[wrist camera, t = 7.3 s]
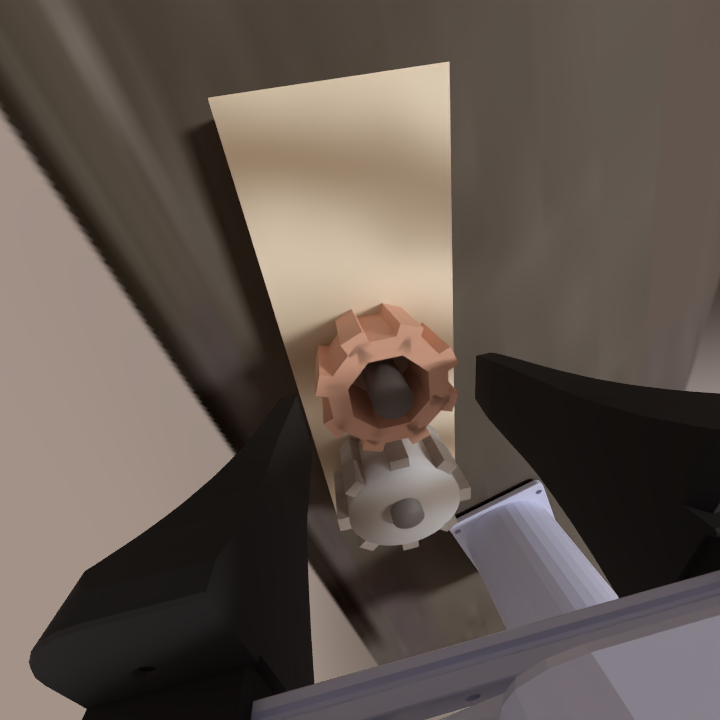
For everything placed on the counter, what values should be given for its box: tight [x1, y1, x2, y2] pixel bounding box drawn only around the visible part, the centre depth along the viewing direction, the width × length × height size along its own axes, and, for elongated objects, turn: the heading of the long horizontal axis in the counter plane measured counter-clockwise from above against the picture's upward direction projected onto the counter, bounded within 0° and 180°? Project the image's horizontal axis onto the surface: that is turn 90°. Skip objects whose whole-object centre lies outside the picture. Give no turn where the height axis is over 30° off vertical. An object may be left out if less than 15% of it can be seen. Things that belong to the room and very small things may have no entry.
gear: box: [315, 303, 459, 452], centre depth 12 cm, size 6×6×3 cm
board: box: [208, 62, 471, 551], centre depth 13 cm, size 21×8×5 cm, turn 9°
